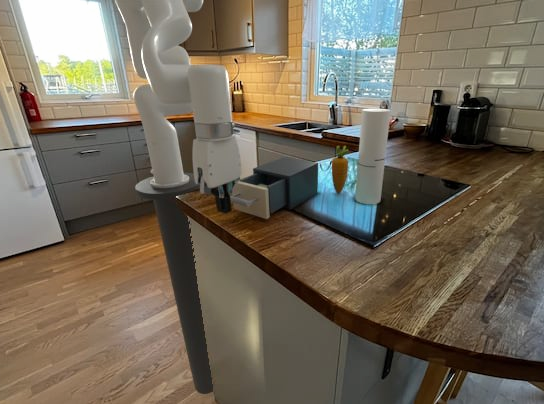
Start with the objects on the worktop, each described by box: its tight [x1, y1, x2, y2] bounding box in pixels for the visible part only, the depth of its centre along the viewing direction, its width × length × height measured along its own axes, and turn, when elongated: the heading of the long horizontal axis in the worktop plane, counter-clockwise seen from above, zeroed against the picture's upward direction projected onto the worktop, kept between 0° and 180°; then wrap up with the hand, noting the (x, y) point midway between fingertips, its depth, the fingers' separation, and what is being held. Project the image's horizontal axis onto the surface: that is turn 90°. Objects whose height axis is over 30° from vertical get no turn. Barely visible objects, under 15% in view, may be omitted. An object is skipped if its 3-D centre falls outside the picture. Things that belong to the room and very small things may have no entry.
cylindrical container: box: [354, 107, 392, 205], centre depth 81 cm, size 7×7×25 cm
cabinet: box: [252, 156, 319, 211], centre depth 87 cm, size 15×13×10 cm
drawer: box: [230, 172, 288, 220], centre depth 78 cm, size 18×11×8 cm, turn 146°
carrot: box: [331, 145, 350, 195], centre depth 87 cm, size 5×5×15 cm
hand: (224, 211), depth 68 cm, fingers closed
